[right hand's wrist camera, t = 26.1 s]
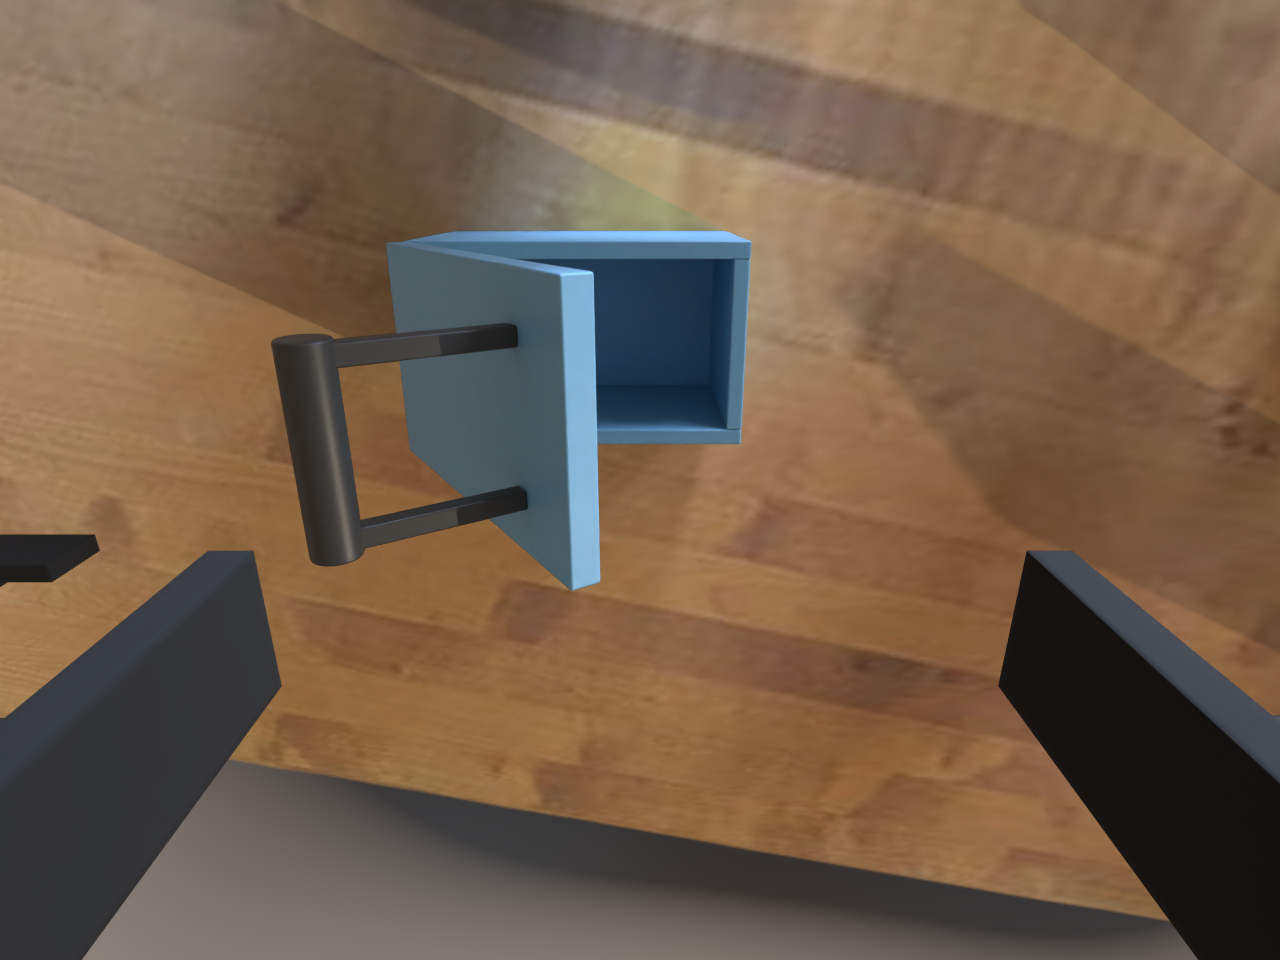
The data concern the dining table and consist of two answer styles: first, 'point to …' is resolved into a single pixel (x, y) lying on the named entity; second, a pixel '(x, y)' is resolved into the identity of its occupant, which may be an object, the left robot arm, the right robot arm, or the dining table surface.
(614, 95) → the dining table surface
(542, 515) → the lid
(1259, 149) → the dining table surface
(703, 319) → the chest
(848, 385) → the dining table surface
